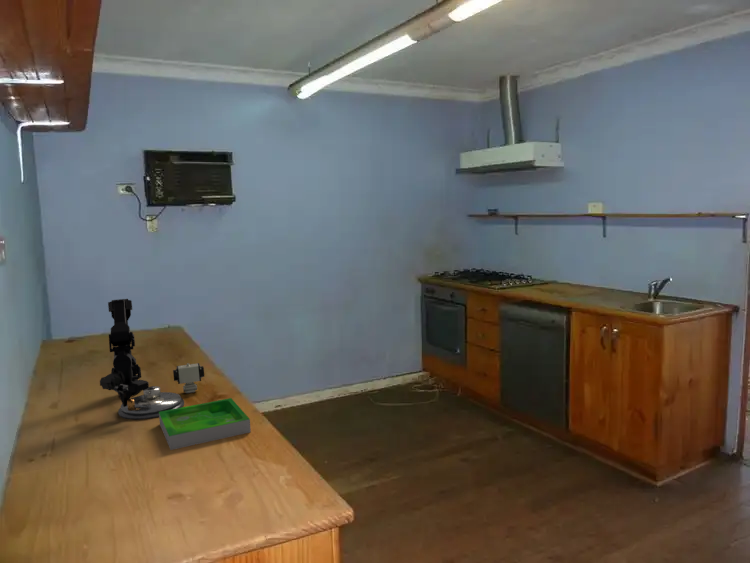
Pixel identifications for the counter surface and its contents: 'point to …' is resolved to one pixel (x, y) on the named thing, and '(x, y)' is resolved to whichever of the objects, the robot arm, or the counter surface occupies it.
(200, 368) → the pneumatic valve
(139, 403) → the turntable
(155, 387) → the cover
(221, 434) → the tray
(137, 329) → the counter surface
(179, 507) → the counter surface
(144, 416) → the turntable base
